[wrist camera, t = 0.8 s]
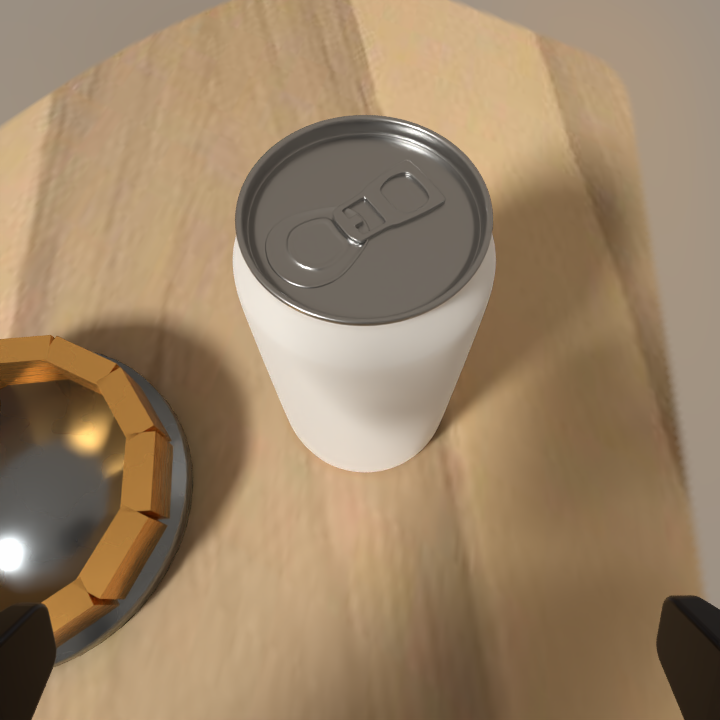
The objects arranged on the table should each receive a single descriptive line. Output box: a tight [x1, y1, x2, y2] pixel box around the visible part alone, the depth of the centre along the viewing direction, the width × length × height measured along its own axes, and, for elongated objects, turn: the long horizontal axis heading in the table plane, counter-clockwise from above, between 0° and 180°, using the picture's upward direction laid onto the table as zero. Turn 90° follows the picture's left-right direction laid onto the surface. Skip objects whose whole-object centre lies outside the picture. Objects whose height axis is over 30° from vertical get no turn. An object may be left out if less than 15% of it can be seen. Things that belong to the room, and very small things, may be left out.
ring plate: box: [0, 335, 193, 667], centre depth 20 cm, size 12×12×3 cm
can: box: [233, 115, 496, 472], centre depth 18 cm, size 6×6×12 cm
